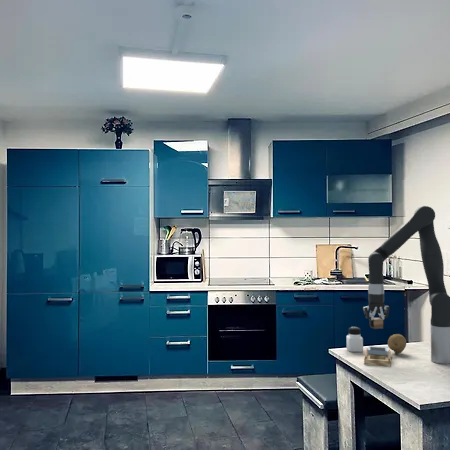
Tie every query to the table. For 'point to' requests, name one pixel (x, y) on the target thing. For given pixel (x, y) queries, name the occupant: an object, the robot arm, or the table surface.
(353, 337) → the medicine bottle
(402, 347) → the natural sponge
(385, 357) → the wooden tray
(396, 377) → the table surface
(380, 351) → the cover
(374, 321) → the block
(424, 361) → the table surface
